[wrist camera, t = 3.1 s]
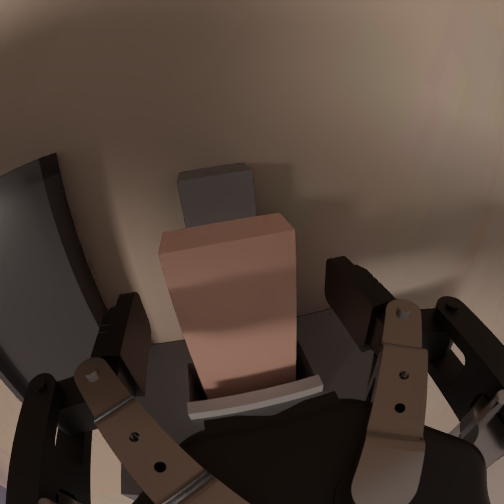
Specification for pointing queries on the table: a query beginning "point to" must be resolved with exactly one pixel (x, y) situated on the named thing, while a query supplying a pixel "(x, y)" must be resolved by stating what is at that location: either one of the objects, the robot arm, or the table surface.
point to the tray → (42, 280)
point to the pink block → (235, 301)
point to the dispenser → (307, 337)
